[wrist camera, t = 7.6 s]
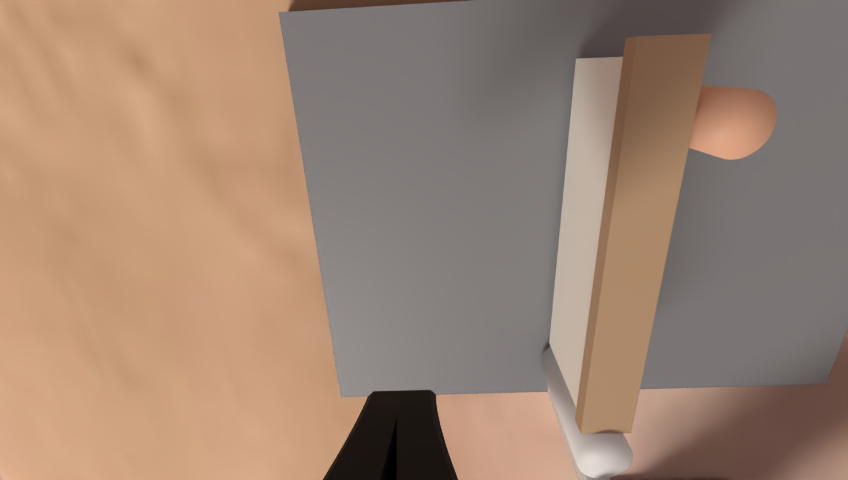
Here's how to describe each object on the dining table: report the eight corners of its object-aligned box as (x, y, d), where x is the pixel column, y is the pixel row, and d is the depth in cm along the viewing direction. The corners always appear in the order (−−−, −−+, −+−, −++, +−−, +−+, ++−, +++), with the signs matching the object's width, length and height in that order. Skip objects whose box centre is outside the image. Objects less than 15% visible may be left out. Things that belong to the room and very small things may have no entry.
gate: (580, 376, 19) (628, 478, 14) (539, 377, 19) (573, 478, 14) (624, 43, 14) (722, 32, 9) (567, 45, 14) (636, 35, 9)
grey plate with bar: (811, 372, 20) (987, 515, 13) (344, 385, 21) (305, 526, 14) (959, -27, 14) (1406, -104, 7) (286, 14, 14) (174, -24, 8)
